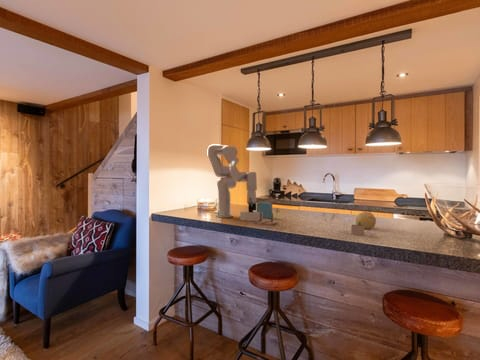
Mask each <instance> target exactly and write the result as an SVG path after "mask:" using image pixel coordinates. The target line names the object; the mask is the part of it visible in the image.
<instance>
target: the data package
mask: <svg viewBox="0 0 480 360" xmlns="http://www.w3.org/2000/svg"><path fill="white" fill-rule="evenodd" d="M256 212H263V219H271V213H273V203H272V202H267V201H258V202H256Z"/></svg>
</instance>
